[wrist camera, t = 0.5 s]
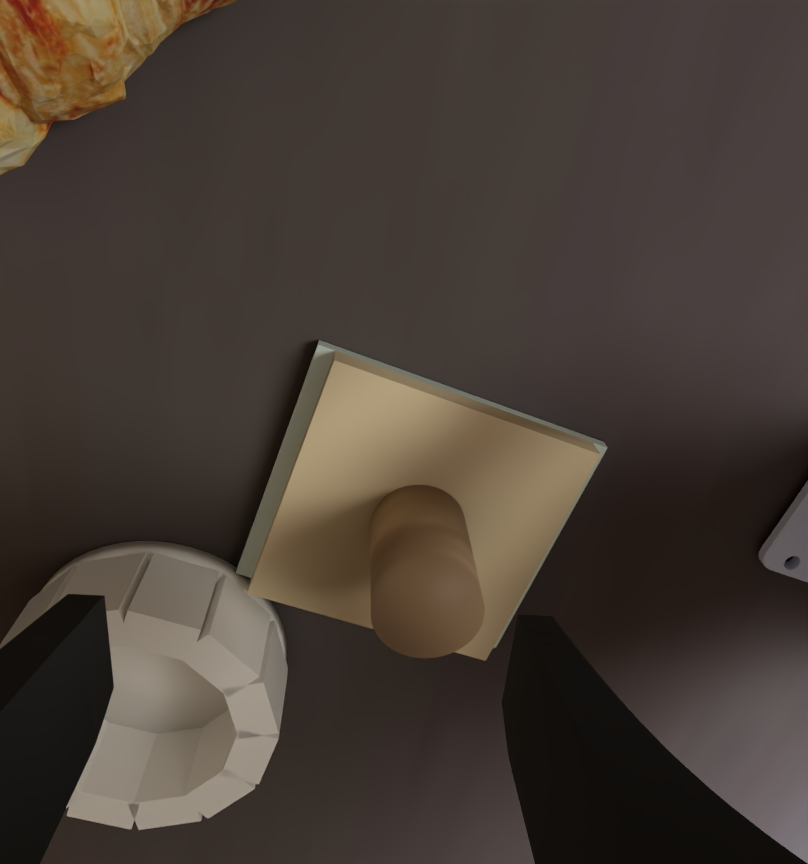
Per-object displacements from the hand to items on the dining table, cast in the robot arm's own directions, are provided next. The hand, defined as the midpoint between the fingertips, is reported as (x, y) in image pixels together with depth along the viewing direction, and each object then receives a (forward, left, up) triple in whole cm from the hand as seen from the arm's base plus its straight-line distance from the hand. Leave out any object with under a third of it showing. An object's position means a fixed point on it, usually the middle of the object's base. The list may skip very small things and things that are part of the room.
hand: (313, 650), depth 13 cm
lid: (-3, +2, -9) cm, 10 cm away
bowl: (+3, +10, -9) cm, 14 cm away
